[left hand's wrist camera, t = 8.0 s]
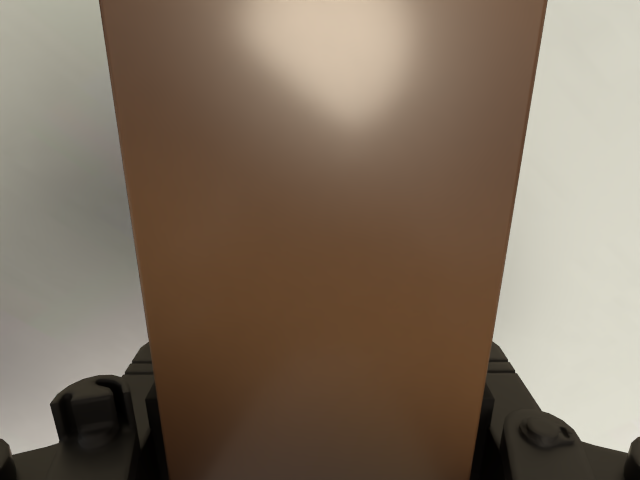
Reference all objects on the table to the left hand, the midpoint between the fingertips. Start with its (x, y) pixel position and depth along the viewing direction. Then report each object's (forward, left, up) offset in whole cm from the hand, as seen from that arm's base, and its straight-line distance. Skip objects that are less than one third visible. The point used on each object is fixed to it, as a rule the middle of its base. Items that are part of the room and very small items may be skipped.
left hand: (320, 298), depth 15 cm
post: (-3, +34, 0) cm, 34 cm away
